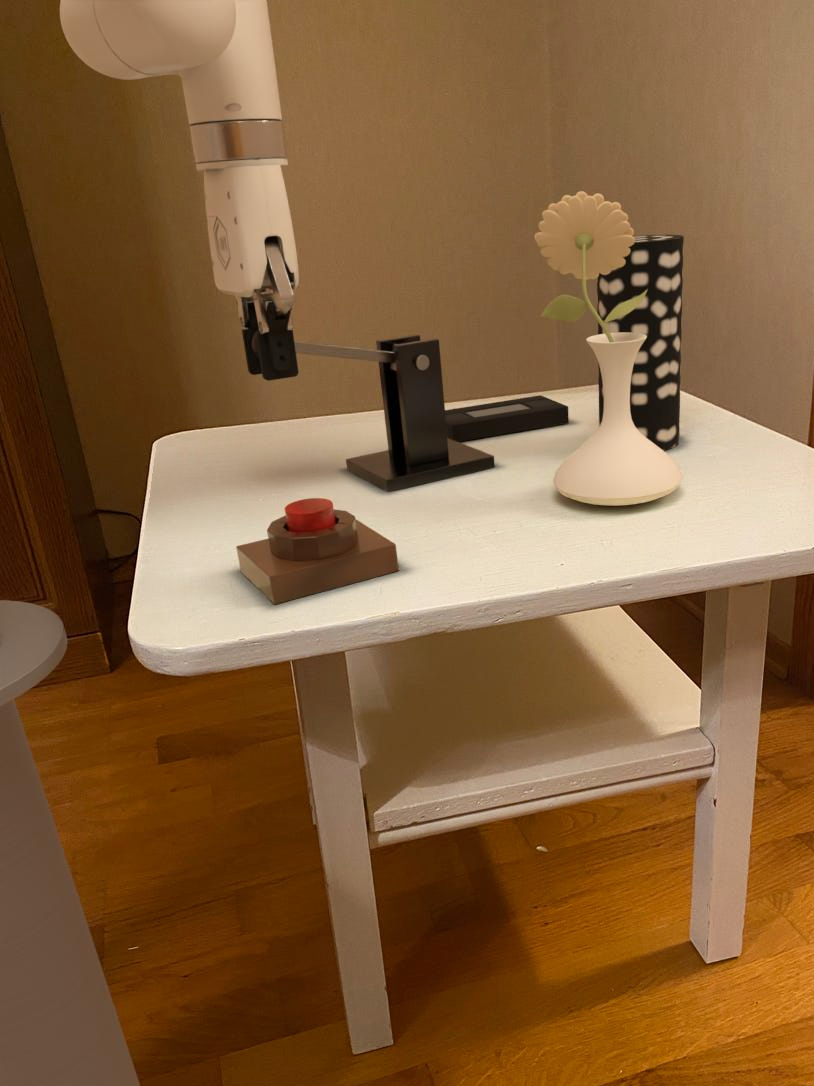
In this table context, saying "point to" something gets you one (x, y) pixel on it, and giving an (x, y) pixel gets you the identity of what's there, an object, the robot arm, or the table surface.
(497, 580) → the table surface
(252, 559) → the button block
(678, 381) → the white-spotted black cylinder
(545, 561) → the table surface
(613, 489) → the flower in vase
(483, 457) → the bracket
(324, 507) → the button
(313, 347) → the lever
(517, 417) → the vhs tape
